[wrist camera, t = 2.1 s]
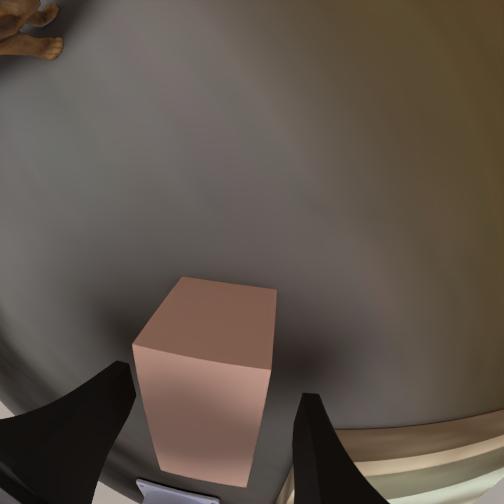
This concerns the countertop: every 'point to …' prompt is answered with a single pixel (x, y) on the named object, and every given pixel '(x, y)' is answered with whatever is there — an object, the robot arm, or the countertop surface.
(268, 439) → the countertop surface
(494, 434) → the tower base
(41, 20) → the lion figurine
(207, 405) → the terracotta brick
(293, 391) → the countertop surface
